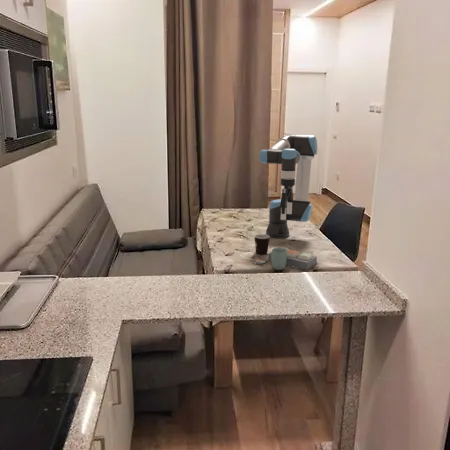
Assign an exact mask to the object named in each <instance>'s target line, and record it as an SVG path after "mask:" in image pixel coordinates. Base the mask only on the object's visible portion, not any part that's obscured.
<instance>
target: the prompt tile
mask: <svg viewBox="0 0 450 450" xmlns="http://www.w3.org/2000/svg"><path fill="white" fill-rule="evenodd" d="M265 262H266V263H267V262H268V259H267V260H266V259H262V258H260V259H256V260H255V261H254V262H253V264H255V263H256V265H259V264H260V265H259V266H261V265H264V264H266V263H265Z"/></svg>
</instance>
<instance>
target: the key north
mask: <svg viewBox="0 0 450 450" xmlns="http://www.w3.org/2000/svg"><path fill="white" fill-rule="evenodd" d="M300 253H301V254H299V255H298V259H302V260H307V261H309V260H310V259H312V258H313V256H314V255H313V253H309V252H304V251H302V252H300Z"/></svg>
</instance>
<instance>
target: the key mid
mask: <svg viewBox="0 0 450 450" xmlns="http://www.w3.org/2000/svg"><path fill="white" fill-rule="evenodd" d="M300 253H301V252H300V251H299V250H295V249H289V251H287V256H288V257H293V258H296V257H298V255H299V254H300Z"/></svg>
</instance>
